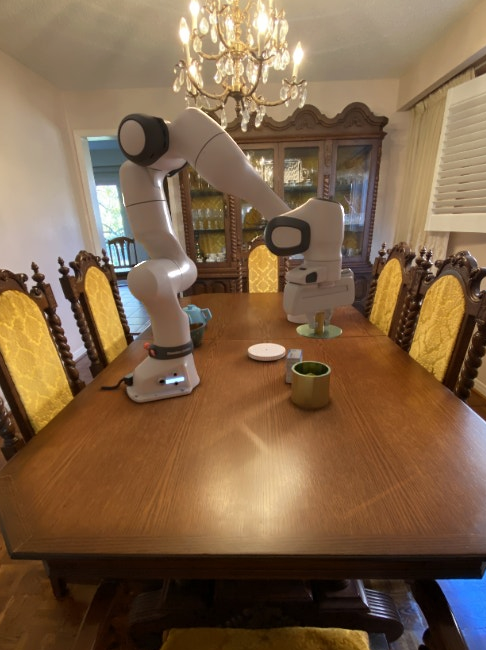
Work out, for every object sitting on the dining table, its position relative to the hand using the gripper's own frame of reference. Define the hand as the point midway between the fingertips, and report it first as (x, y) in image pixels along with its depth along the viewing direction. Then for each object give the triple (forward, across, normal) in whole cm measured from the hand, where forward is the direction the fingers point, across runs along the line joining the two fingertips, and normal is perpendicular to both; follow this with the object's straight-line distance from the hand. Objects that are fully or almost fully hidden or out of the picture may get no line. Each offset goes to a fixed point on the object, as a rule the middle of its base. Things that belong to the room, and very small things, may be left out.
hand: (319, 327), depth 87 cm
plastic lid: (+23, -8, -38) cm, 45 cm away
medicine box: (+23, -5, -17) cm, 29 cm away
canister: (+23, -50, -69) cm, 88 cm away
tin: (+23, 0, -3) cm, 23 cm away
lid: (+1, 0, 0) cm, 1 cm away
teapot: (+23, +2, -89) cm, 92 cm away
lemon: (+22, 0, -3) cm, 22 cm away
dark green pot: (+23, +16, -65) cm, 70 cm away
